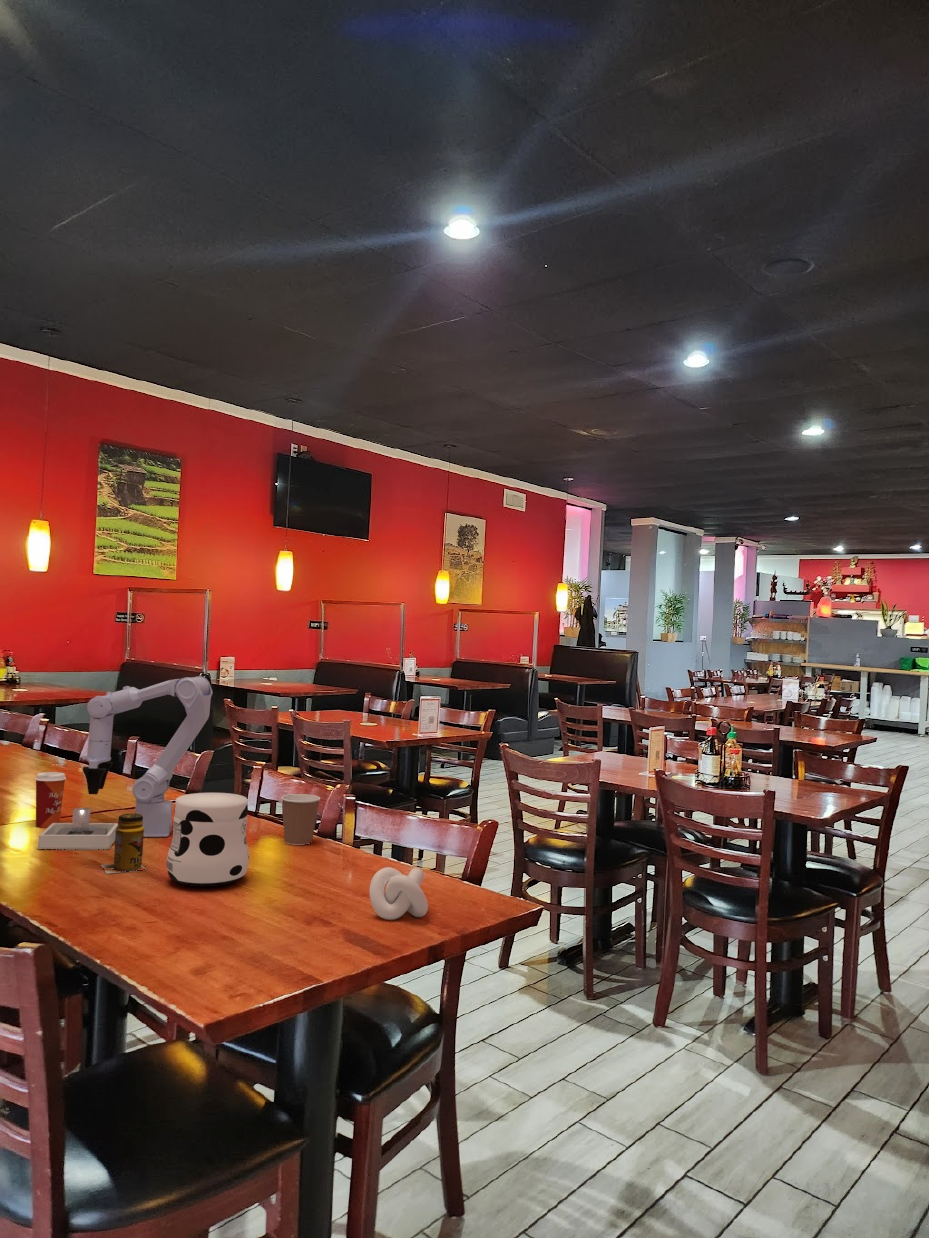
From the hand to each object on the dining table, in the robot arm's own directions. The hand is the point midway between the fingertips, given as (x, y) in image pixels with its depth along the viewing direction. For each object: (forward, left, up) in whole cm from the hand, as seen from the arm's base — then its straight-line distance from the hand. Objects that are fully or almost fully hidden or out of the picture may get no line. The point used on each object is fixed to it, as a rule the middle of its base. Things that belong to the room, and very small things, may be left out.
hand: (95, 791), depth 228 cm
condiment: (-13, +38, -11) cm, 42 cm away
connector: (+1, +14, -10) cm, 17 cm away
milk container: (-32, +49, -11) cm, 60 cm away
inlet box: (+1, +14, -10) cm, 18 cm away
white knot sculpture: (-70, +75, -11) cm, 103 cm away
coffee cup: (-53, +14, -11) cm, 56 cm away
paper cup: (+13, -6, -11) cm, 18 cm away
